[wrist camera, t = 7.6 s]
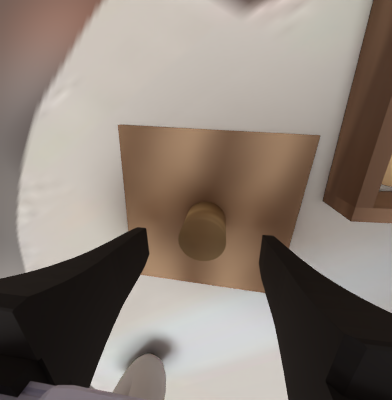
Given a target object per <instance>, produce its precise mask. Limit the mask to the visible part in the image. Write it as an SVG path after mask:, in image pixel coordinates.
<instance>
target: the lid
mask: <svg viewBox="0 0 392 400" xmlns="http://www.w3.org/2000/svg"><path fill="white" fill-rule="evenodd" d="M118 131H119V141H120V151H121V161H122V171H123V181H124V190H125V200H126V210H127V220H128V230H129V231H130V230H132V229H134V228H137V227H141V228H146V230H147V238H148V246H149V253H150V255H149V257H148V260H147V262H146V265H145V267H144V269H143V271H142V273H141V274H140V275H147V276H154V277H160V278H167V279H174V280H181V281H187V282H194V283H201V284H208V285H215V286H221V287H228V288H235V289H242V290H249V291H255V292H262V293H265V290H264V287H263V283H262V280H261V275H260V268H259V257H260V250H261V242H262V235H272V236H275V237H276V238H277V239H278V240H279V241H280V242H281V243H283V244H284V245H285V246H286V247H287V248H288V249H289V245H290V242H291V238H292V235H293V231H294V228H295V224H296V220H297V217H298V213H299V210H300V206H301V203H302V199H303V196H304V192H305V189H306V185H307V181H308V178H309V174H310V171H311V167H312V164H313V160H314V157H315V153H316V149H317V146H318V142H319V139H320V136H319V135H301V134H282V133H263V132H244V131H225V130H207V129H188V128H169V127H150V126H131V125H118Z"/></svg>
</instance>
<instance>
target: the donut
mask: <svg viewBox="0 0 392 400" xmlns="http://www.w3.org/2000/svg"><path fill="white" fill-rule="evenodd" d="M165 392H166V374H165V370H164V365H163V363H162V361H161V359H159V358H158V357H157V356H155V355H153V354H150V353H148V354H144V355H142V356H140V357H138V358H137V359H136V360H135V361H134V362H133V363H132V364H131V365H130V366H129V367H128V368H127V370H126V371H125V373H124V374H123V376H122V377H121V379H120V380H119V382H118V384H117V386H116V387H115V389H114V391H113V393H116V394H122V395H127V396H132V397H137V398H142V399H147V400H164V397H165Z"/></svg>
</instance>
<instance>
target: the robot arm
mask: <svg viewBox="0 0 392 400" xmlns="http://www.w3.org/2000/svg"><path fill="white" fill-rule="evenodd" d="M149 255H150V253H149V246H148V238H147V230H146V228H141V227H137V228H134V229H132V230H130V231H128V232H126V233H125V234H123V235H121V236H119V237H117V238H115V239H113V240H111V241H110V242H108V243H106V244H104V245H102V246H100V247H97V248H95V249H93V250H91V251H89V252H87V253H84V254H82V255H80V256H77V257H75V258H72V259H69V260H66V261H63V262H60V263H58V264H55V265H52V266H49V267H45V268H42V269H38V270H35V271H31V272H27V273H23V274H19V275H15V276H10V277H6V278H1V279H0V400H147V399H142V398H137V397H132V396H127V395H122V394H116V393H111V392H106V391H101V390H96V389H91V388H89V386H90V384H91V381H92V378H93V376H94V373H95V370H96V367H97V365H98V362H99V360H100V357H101V355H102V352H103V350H104V347H105V345H106V342H107V340H108V338H109V335H110V333H111V331H112V328H113V326H114V324H115V321H116V319H117V317H118V315H119V313H120V310H121V308H122V306H123V304H124V302H125V300H126V299H127V297H128V295H129V293H130V292H131V290H132V288H133V287H134V285H135V283H136V281H137V280H138V278H139V276H140V274H141V273H142V271H143V269H144V267H145V265H146V262H147V260H148V257H149ZM259 268H260V275H261V280H262V283H263V287H264V290H265V293H266V297H267V300H268V303H269V307H270V310H271V313H272V317H273V320H274V324H275V329H276V334H277V339H278V344H279V349H280V354H281V360H282V365H283V370H284V376H285V382H286V388H287V394H288V400H392V313H390V312H388V311H386V310H384V309H382V308H380V307H378V306H376V305H374V304H372V303H370V302H368V301H366V300H364V299H362V298H360V297H358V296H357V295H355V294H353V293H351V292H349V291H348V290H346V289H344V288H342V287H341V286H339V285H337V284H336V283H334V282H333V281H331V280H330V279H328V278H326V277H325V276H323V275H322V274H320V273H319V272H317V271H316V270H315V269H313V268H312V267H311V266H309V265H308V264H307V263H305V262H304V261H303V260H301V259H300V258H299V257H298V256H297V255H295V254H294V253H293V252H292V251H291V250H289V249H288V248H287V247H286V246H285V245H284V244H283V243H281V242H280V241H279V240H278V239H277V238H276V237H275V236H272V235H262V242H261V250H260V257H259Z"/></svg>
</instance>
